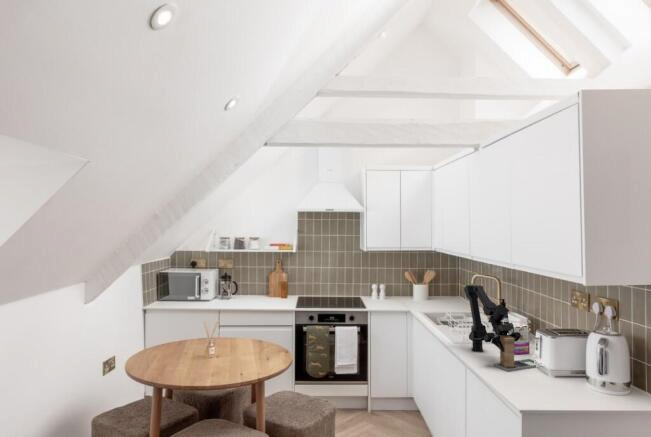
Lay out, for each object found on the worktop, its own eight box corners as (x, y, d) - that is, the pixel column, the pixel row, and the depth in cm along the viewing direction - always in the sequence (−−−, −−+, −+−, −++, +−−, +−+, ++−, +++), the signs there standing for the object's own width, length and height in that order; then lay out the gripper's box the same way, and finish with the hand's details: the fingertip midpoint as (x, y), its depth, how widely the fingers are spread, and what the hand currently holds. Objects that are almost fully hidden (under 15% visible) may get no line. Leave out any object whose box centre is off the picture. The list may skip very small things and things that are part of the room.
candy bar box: (523, 351, 253) (523, 323, 253) (529, 353, 248) (529, 325, 248) (507, 352, 250) (507, 325, 250) (513, 355, 245) (513, 326, 245)
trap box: (507, 372, 216) (507, 369, 216) (493, 366, 225) (493, 363, 225) (544, 367, 225) (544, 364, 225) (529, 361, 234) (529, 358, 234)
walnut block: (500, 364, 224) (500, 336, 224) (508, 363, 225) (509, 335, 225) (505, 367, 219) (505, 338, 219) (514, 367, 220) (514, 338, 220)
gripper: (486, 317, 225) (497, 344, 214) (519, 316, 227) (531, 343, 216) (479, 328, 233) (489, 355, 222) (511, 328, 235) (522, 354, 224)
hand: (508, 351), depth 221 cm, fingers closed on walnut block, 5 cm apart
